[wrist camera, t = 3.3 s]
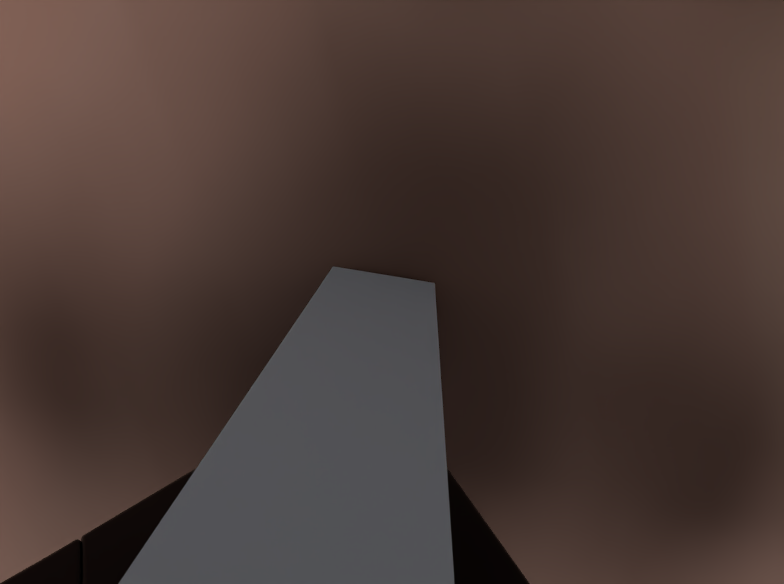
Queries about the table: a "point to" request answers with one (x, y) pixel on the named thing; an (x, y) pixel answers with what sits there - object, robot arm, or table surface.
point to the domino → (325, 455)
